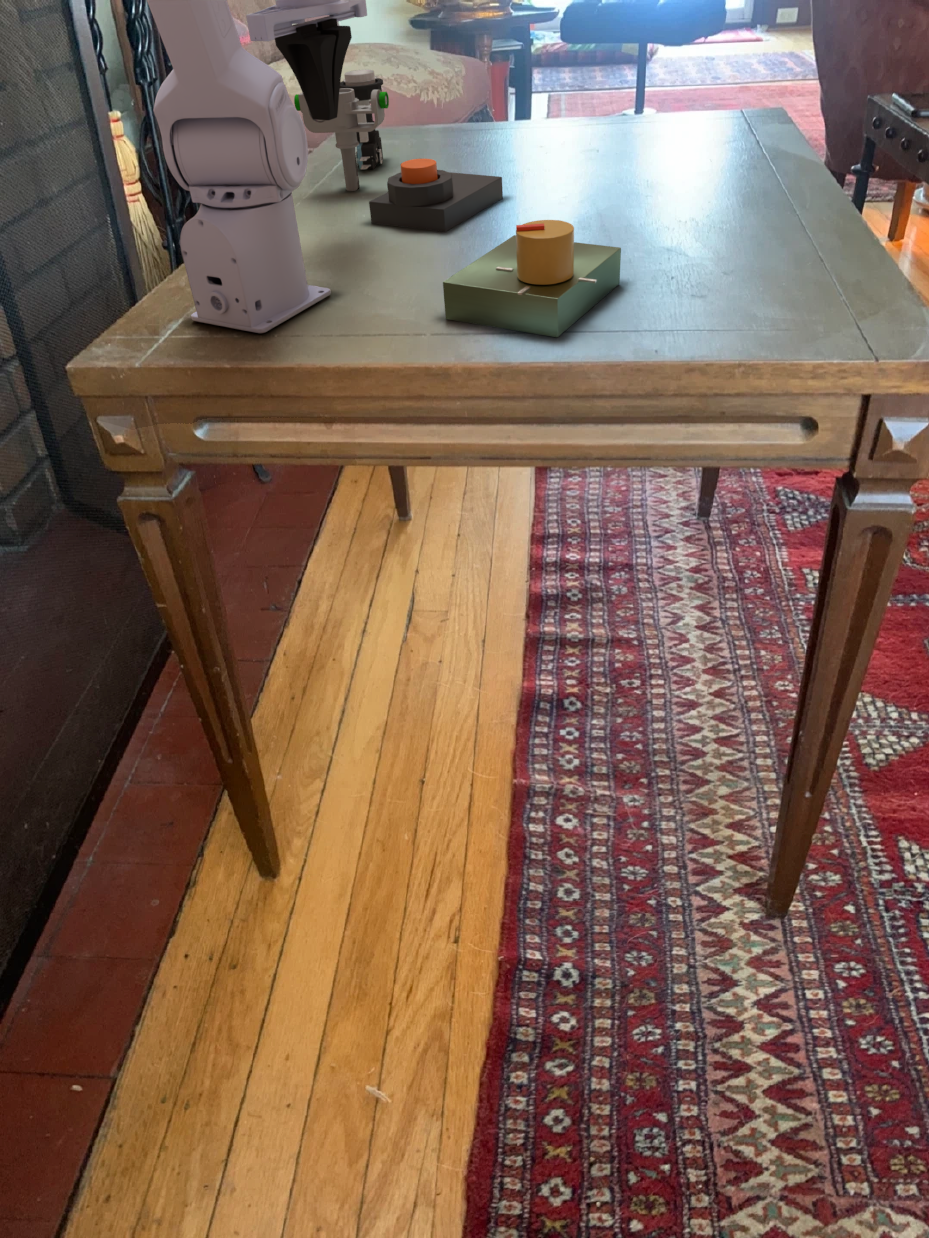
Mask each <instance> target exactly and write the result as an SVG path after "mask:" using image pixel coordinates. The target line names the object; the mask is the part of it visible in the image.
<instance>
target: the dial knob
mask: <svg viewBox="0 0 929 1238" xmlns="http://www.w3.org/2000/svg"><path fill="white" fill-rule="evenodd" d="M515 235H516V254H517V277H518V279H519V280H521V281H523V282H525V283H529V284H535V285H549V284H556V283H561V282H564V281H566V280H568V279H570V278H571V277H572V276H573V274H574V242H575V227H574V225H573V224H572V223H570V222H567V221H564V220H559V219H540V220H539V219H538V220H532V221H528V222H525V223H523V224H516V226H515Z"/></svg>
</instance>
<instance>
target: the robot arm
mask: <svg viewBox="0 0 929 1238" xmlns="http://www.w3.org/2000/svg"><path fill="white" fill-rule="evenodd" d="M146 2H147V5H148V7H149V10H150V12H151V14H152V18H153V21H154V23H155V25H156V28H157V31H158V33H159V36H160V38H161V41H162V43H163V46H164V49H165V51H166V54H167V56H168V59H169V61H170V64H171V66H172V70H171V71H170V72H169V74H168V75H167V76H166V78H164V80H163V82H162V83H161V85H160V86H159V89H158V91H157V93H156V96H155V100H154V104H153V110H152V111H153V114H154V116H155V119H156V122H157V124H158V127H159V132H160V135H161V144H162V151H163V155H164V159H165V162H166V165H167V167H168V169H169V172H170V173H171V175H172V176H173V178H174V179H175V181H176V182H177V184H178V185H179V186H180V187H181V188H182V189H184V190H185V191H187V192H189V194H190V198H191V202H192V203H194V204H200V205H199V208H198V211H197V212H196V214H194V216H193V217H191V218H189V220H188V221H186V222H185V223H184V224H183V226H182V228H181V232H180V236H179V245H180V251H181V257H182V260H183V264H184V268H185V271H186V276H187V280H188V283H189V287H190V292H191V296H192V299H193V303H194V307H195V310H196V311H195V312H193V313H191V314H190V318H191V321H193V322H198V323H204V324H207V325H213V326H218V327H219V326H220V327H223V328H229V329H235V330H239V331H244V332H250V333H254V334H265V333H267V332H268V331H271V330H272V329H274V328H276V327H278V326H280V324H283V323H284V322H286V321H287V320H289V319H291V318H293V317H294V316H296V315H298V314H300V313H301V312H303V311H305V310H307V309H308V308H310V307H312V306H314V305H315V304H316V303H318V302H320V301H322V300H324V299H325V298H327V297H329V296H330V295H331V294H332V292H331V289H330V288H329V287H326V286H325V287H323V286H317V285H312V284H308V278H307V273H306V267H305V261H304V256H303V255H304V254H303V250H302V243H301V238H300V233H299V226H298V221H297V215H296V209H295V202H294V197H293V192H294V191H295V190H297V189H298V188H299V187H300V185H301V184H302V181H303V180H304V178H305V176H306V173H307V168H308V162H309V143H308V137H307V131H306V126H305V124H304V121H303V117H302V116H301V114H300V111H297V110H296V108H295V104H294V102H293V101H292V99H291V97H290V95H289V91H288V89H287V86H286V84H285V82H284V79H283V76H282V74H280V72H279V71H277V70H276V69H274V68H273V67H271V66H270V65H269V64H267V63H266V62H264V61H263V60H261V59H259V58H258V57H256V56H255V55H253V54H252V53H251V52H249V51H248V50H246V49H245V48H244V47H243V46H242V43H241V40H240V37H239V36H240V35H239V33H238V29H237V27H236V24H235V21H234V17H233V15H232V11H231V8H230V5H229V2H228V0H146ZM274 3H275V4H273V5H271V6H268V7H266V8H263V9H260V10H258V11H255V12H252V13H248V14H246V15H245V17H246V24H247V29H248V35H249V40H250V42H272V41H274V42H275V46H276V48H277V49H278V51H279V52H280V53H281V55H282V56H283V58H284V59H285V61H286V62H287V64H288V65H289V67H290V70H291V71H292V72H293V75H294V76H295V79H296V81H297V83H298V85H299V87H300V90H301V93H302V92H303V95H304V97H305V100H306V103H307V105H308V108H309V111H310V113H311V116H312V118H313V120H331V119H334V118H337V114H338V102H339V90H340V82H342V81H341V79H342V73H343V67H344V62H345V59H346V55H347V52H348V49H349V45H350V44H351V40H352V38H353V36H352V30H351V25H338V22H342V21H346V20H350V19H354V18H365V17H367V16H368V9H367V0H275V2H274ZM319 17H320V18H319ZM312 18H315V19H312ZM306 19H312V20H308V21H305V20H306Z"/></svg>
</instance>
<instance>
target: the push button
mask: <svg viewBox="0 0 929 1238" xmlns="http://www.w3.org/2000/svg"><path fill="white" fill-rule="evenodd" d="M343 77H344V79H343V80H342V81H340V89H341V88H350V89H354V94H355V98H357V99H359V103H358V106H367V105H371V104H369V100H371V93H372V91H373V90H381V92H383V90H382V85H384V79H383V78H379V77H377V76H376V75H375V70H374V69H365V68H364V69H354V70H349V71H346V72H344V73H343ZM357 119H358V123H375V120H374V117H373V113H370V114H357ZM356 134H357V141H358V142H359V145H358V146H357V147H356V151H355V154H356V161H357V166H358V168H359V170H360V171H362V170H364V171H365V170H374V169H375V168H376V166H377V165H378V163H379V164H380V165H382V164H383V161H384V155H383V154H384V153H383V144H382V143H383V142H382V137H381V136H380V131H379V130H378V129H374V130H373V131H371V132H356Z"/></svg>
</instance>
